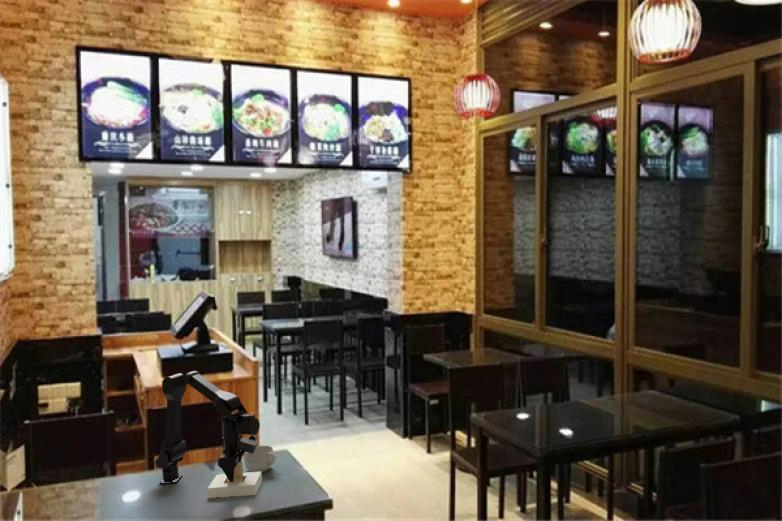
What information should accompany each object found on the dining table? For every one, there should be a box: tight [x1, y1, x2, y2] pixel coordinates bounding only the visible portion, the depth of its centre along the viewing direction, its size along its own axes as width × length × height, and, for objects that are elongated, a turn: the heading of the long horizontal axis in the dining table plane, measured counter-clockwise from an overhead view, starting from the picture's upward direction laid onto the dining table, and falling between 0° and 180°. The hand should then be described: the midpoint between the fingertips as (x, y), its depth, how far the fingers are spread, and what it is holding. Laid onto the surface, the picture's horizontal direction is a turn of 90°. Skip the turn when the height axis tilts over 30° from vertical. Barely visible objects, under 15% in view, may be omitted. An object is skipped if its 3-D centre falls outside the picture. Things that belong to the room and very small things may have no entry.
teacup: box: [243, 445, 277, 473], centre depth 234 cm, size 14×11×8 cm
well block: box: [207, 471, 263, 499], centre depth 218 cm, size 12×16×4 cm
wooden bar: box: [226, 461, 244, 483], centre depth 218 cm, size 4×5×9 cm
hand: (235, 476), depth 218 cm, fingers open, 9 cm apart
